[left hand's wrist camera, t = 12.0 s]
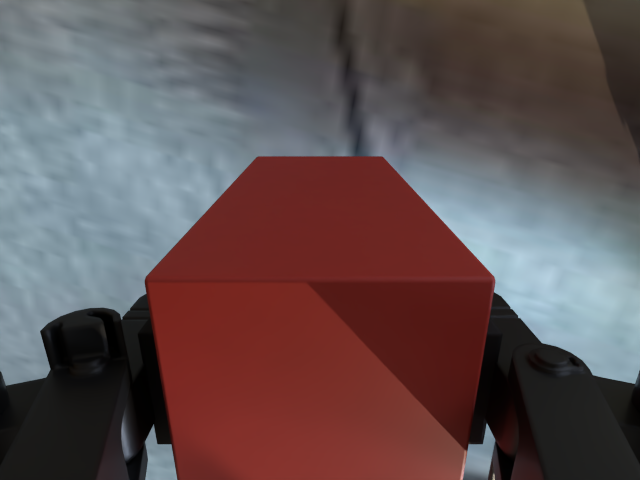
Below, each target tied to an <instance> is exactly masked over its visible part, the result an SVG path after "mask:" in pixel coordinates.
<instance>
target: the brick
mask: <svg viewBox="0 0 640 480" xmlns="http://www.w3.org/2000/svg"><path fill="white" fill-rule="evenodd" d="M145 287H146V293H147V299H148V305H149V311H150V317H151V323H152V329H153V335H154V341H155V347H156V353H157V359H158V365H159V371H160V377H161V383H162V389H163V395H164V401H165V407H166V413H167V419H168V425H169V432H170V438H171V444H172V450H173V456H174V462H175V468H176V474H177V480H463V474H464V468H465V462H466V456H467V450H468V444H469V438H470V432H471V426H472V420H473V414H474V408H475V402H476V396H477V390H478V384H479V378H480V372H481V366H482V360H483V354H484V348H485V341H486V335H487V329H488V323H489V317H490V311H491V305H492V299H493V293H494V287H495V278H494V276H493V275H492V274H491V273H490V272H489V271H488V270H487V269H486V268H485V266H484V265H483V264H482V263H481V262H480V261H479V260H478V259H477V258H476V257H475V256H474V255H473V254H472V252H471V251H470V250H469V249H468V248H467V247H466V246H465V245H464V244H463V243H462V242H461V241H460V240H459V238H458V237H457V236H456V235H455V234H454V233H453V232H452V231H451V230H450V229H449V228H448V227H447V225H446V224H445V223H444V222H443V221H442V220H441V219H440V218H439V217H438V216H437V215H436V214H435V213H434V211H433V210H432V209H431V208H430V207H429V206H428V205H427V204H426V203H425V202H424V201H423V200H422V199H421V197H420V196H419V195H418V194H417V193H416V192H415V191H414V190H413V189H412V188H411V187H410V186H409V185H408V183H407V182H406V181H405V180H404V179H403V178H402V177H401V176H400V175H399V174H398V173H397V172H396V171H395V169H394V168H393V167H392V166H391V165H390V164H389V163H388V162H387V161H386V160H385V159H384V158H383V157H257V158H256V159H255V160H254V161H253V162H252V163H251V164H250V165H249V166H248V167H247V168H246V169H245V171H244V172H243V173H242V174H241V175H240V176H239V177H238V178H237V179H236V180H235V181H234V182H233V183H232V185H231V186H230V187H229V188H228V189H227V190H226V191H225V192H224V193H223V194H222V195H221V196H220V197H219V199H218V200H217V201H216V202H215V203H214V204H213V205H212V206H211V207H210V208H209V209H208V210H207V212H206V213H205V214H204V215H203V216H202V217H201V218H200V219H199V220H198V221H197V222H196V223H195V224H194V226H193V227H192V228H191V229H190V230H189V231H188V232H187V233H186V234H185V235H184V236H183V237H182V238H181V240H180V241H179V242H178V243H177V244H176V245H175V246H174V247H173V248H172V249H171V250H170V251H169V253H168V254H167V255H166V256H165V257H164V258H163V259H162V260H161V261H160V262H159V263H158V264H157V265H156V267H155V268H154V269H153V270H152V271H151V272H150V273H149V274H148V275H147V276H146V278H145Z"/></svg>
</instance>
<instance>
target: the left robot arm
mask: <svg viewBox="0 0 640 480" xmlns="http://www.w3.org/2000/svg"><path fill="white" fill-rule="evenodd" d="M40 332H41V336H42V340H43V343H44V347H45V350H46V354H47V358H48V361H49V365H50V368H51V370H50V372H49V374H48V376H47V377H46V378H43V379H38V380H33V381H28V382H23V383H18V384H13V385H8V386H6V385H5V382H4V379H3V376H2V373H1V372H0V480H145V477H146V469H147V462H148V457H147V450H146V445H145V440H146V438H147V436H148V434H149V432H150V430H151V428H152V426H153V424H154V428H155V433H156V439H157V444H171V438H170V432H169V425H168V419H167V413H166V407H165V401H164V395H163V389H162V383H161V377H160V371H159V365H158V359H157V353H156V347H155V341H154V335H153V329H152V323H151V317H150V311H149V305H148V299H147V294H145V295H144V296H142V297H140V298H139V299H138V300H137V301H136V302H135V304H134V305H133V306H132V307H131V308H130V311H128V312H127V313H126V314H125V315H124V316H123V319H122V320H121V317H120V314H119V313H118V312H116V311H115V310H112V309H107V308H89V309H84V310H79V311H74V312H72V313H69V314H66V315H63V316H60V317H59V318H57V319H55V320H53V321H52V322H50V323H48V324H47V325H46V326H45V327H44V328H43V329H42V330H41V331H40ZM486 424H488V426H489V428H490V430H491V432H492V434H493V436H494V438H495V445H494V450H493V455H492V460H491V465H490V471H489V476H488V480H494V479H495V480H640V371H639V374H638V377H637V380H636V383H635V384H632V383H627V382H622V381H617V380H612V379H607V378H602V377H597V376H593V375H592V373H591V371H590V369H589V368H588V367H587V366H586V364H585V363H584V362H583V361H582V360H581V359H579V358H578V357H576V356H575V355H573V354H572V353H570V352H568V351H566V350H563V349H561V348H558V347H556V346H551V345H547V344H543V343H541V342H540V341H539V339H538V338H537V337H536V336H535V335H534V334H533V333H532V331H531V330H530V329H529V328H528V327H527V326H526V325H525V323H524V322H523V321H522V320H521V319H520V318H518V315H517V314H516V313H515V312H514V311H513V310H512V309H510V306H509V305H508V304H507V303H506V302H505V300H504V299H503V298H502V297H501V296H499V295H498V294H496V293H493V299H492V305H491V311H490V317H489V323H488V329H487V335H486V341H485V348H484V354H483V360H482V366H481V372H480V378H479V384H478V390H477V396H476V402H475V408H474V414H473V420H472V426H471V432H470V438H469V444H483V440H484V435H485V429H486Z"/></svg>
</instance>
